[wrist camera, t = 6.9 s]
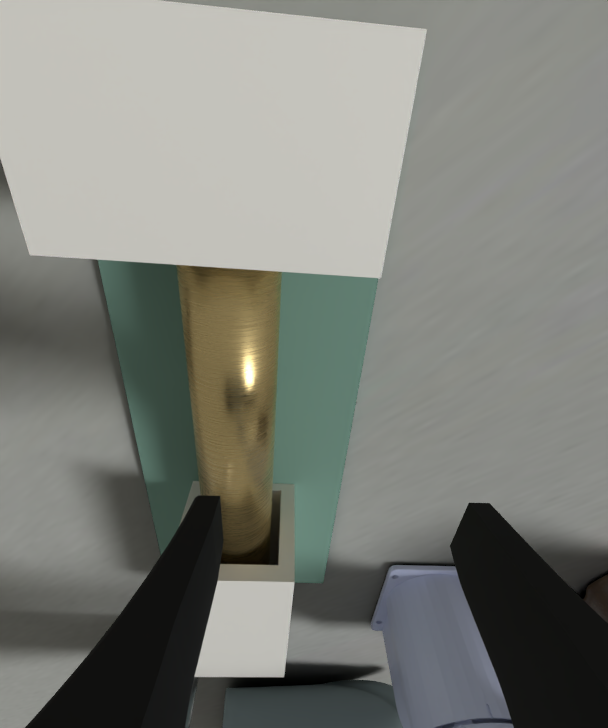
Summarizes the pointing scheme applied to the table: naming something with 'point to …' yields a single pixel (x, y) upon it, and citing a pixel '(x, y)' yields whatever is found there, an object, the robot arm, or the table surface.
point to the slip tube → (234, 396)
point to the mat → (293, 400)
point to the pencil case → (313, 706)
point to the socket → (204, 133)
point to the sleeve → (253, 603)
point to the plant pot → (598, 597)
